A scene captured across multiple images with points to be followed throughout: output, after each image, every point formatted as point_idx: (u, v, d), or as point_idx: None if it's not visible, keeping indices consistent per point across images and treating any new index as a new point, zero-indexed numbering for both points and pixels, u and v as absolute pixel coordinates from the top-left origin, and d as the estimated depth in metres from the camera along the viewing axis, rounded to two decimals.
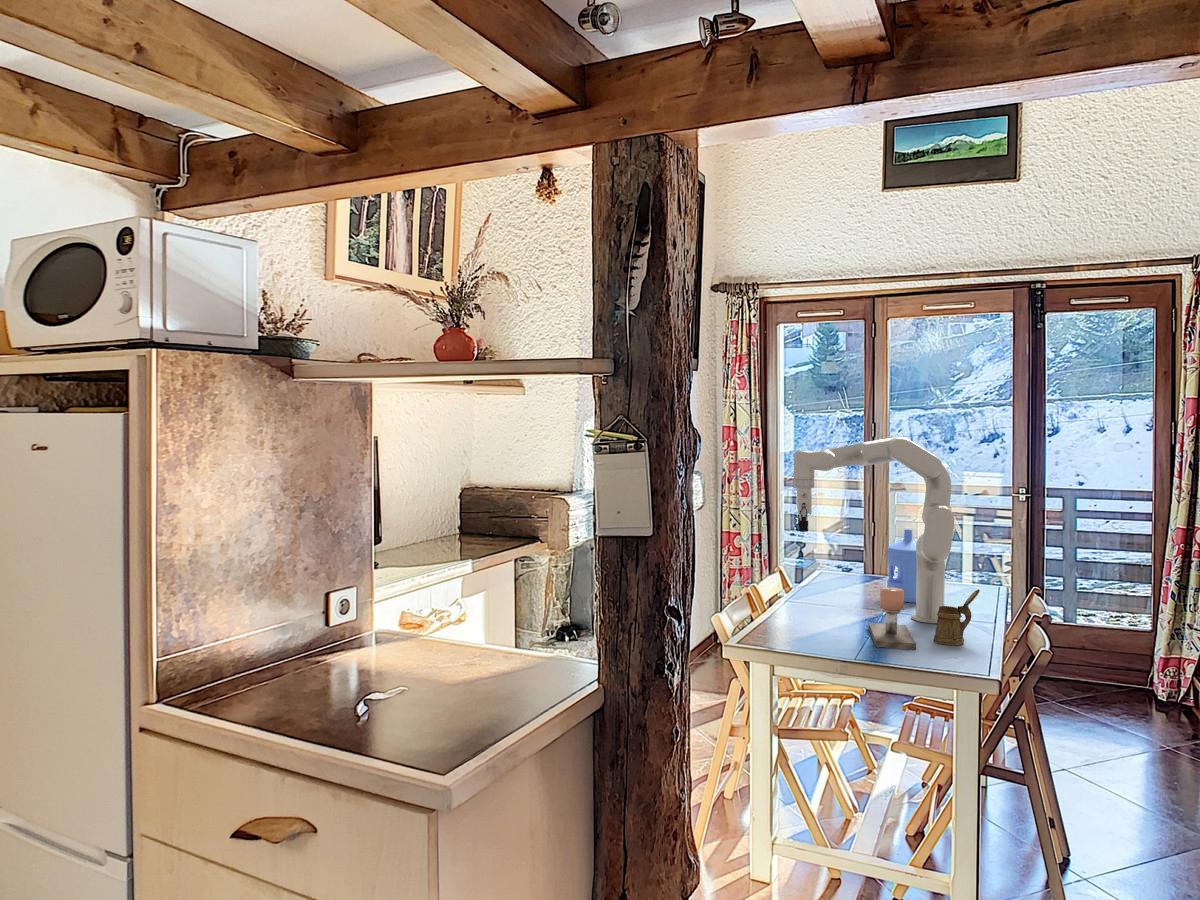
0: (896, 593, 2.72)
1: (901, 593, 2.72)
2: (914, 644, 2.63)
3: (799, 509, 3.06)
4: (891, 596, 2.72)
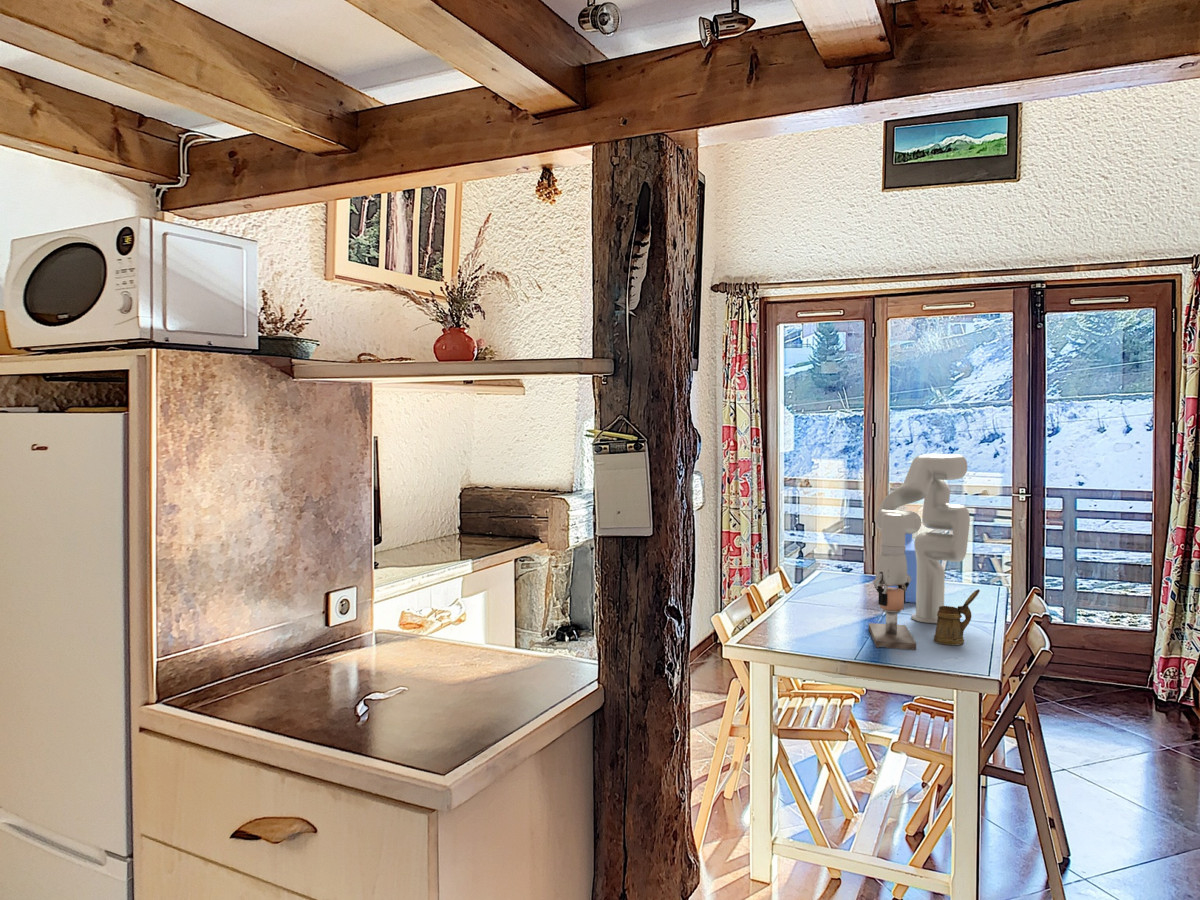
0: (896, 593, 2.72)
1: (901, 593, 2.72)
2: (914, 644, 2.63)
3: None
4: (891, 596, 2.72)
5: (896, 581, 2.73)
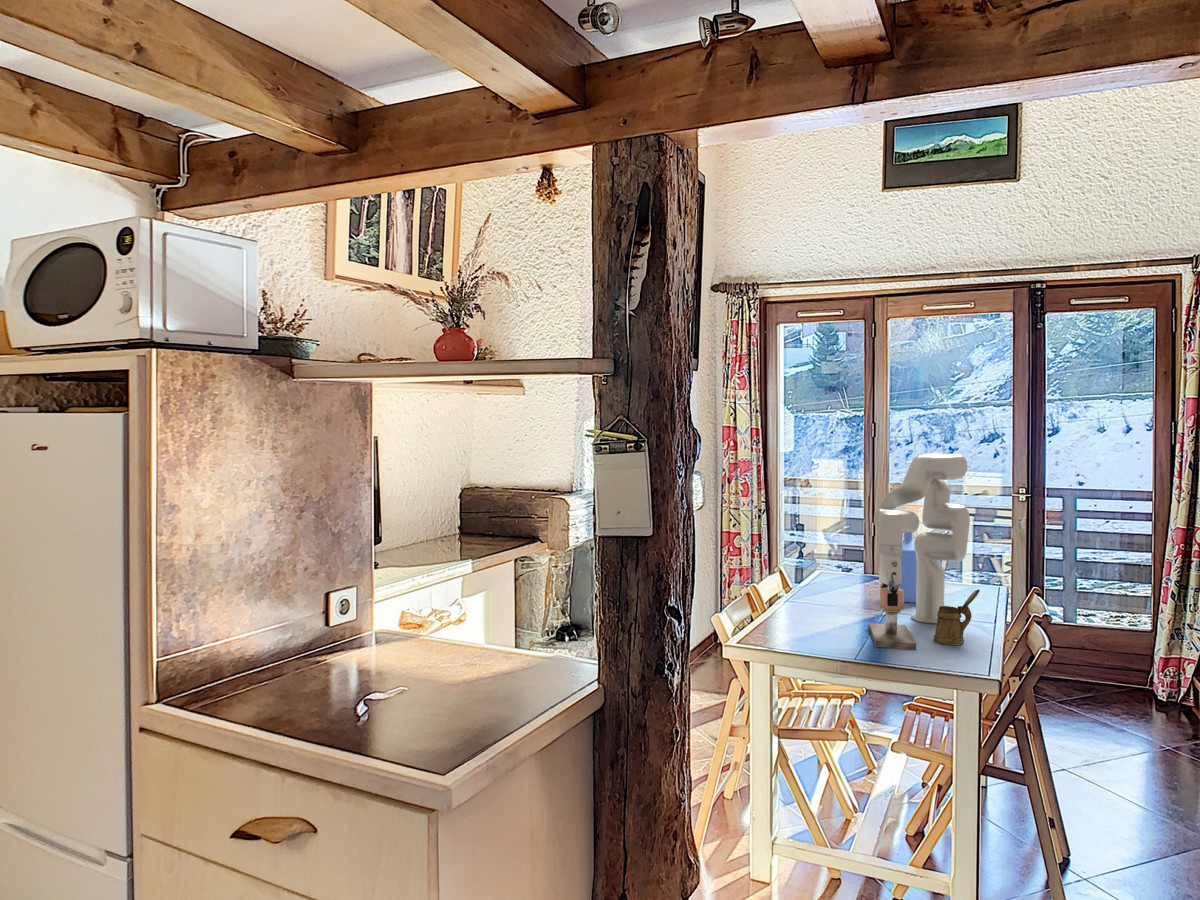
0: None
1: (898, 593, 2.72)
2: (914, 644, 2.63)
3: (888, 581, 2.71)
4: (886, 595, 2.73)
5: (882, 579, 2.76)
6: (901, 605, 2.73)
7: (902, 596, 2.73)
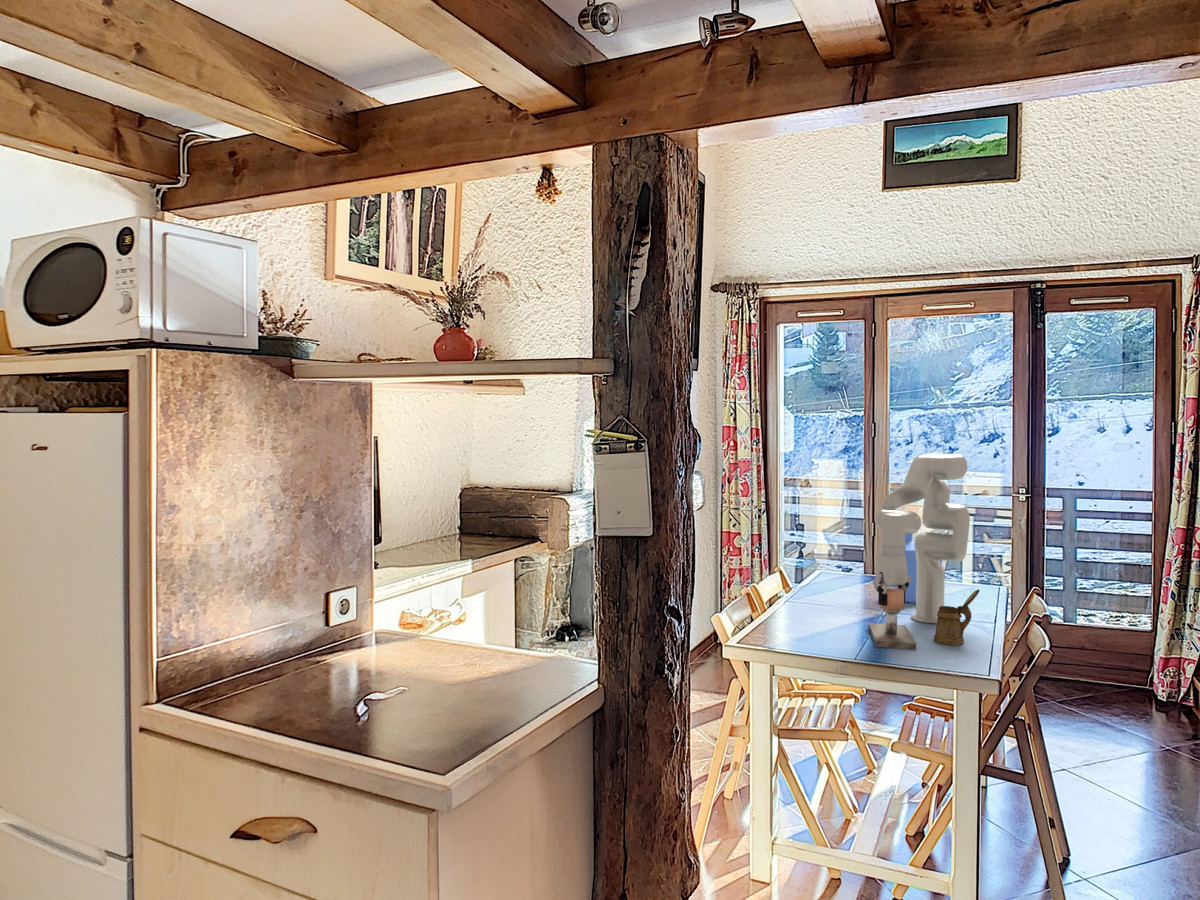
0: (889, 593, 2.72)
1: (895, 593, 2.72)
2: (914, 644, 2.63)
3: None
4: None
5: (896, 581, 2.73)
6: (899, 605, 2.72)
7: (901, 596, 2.72)
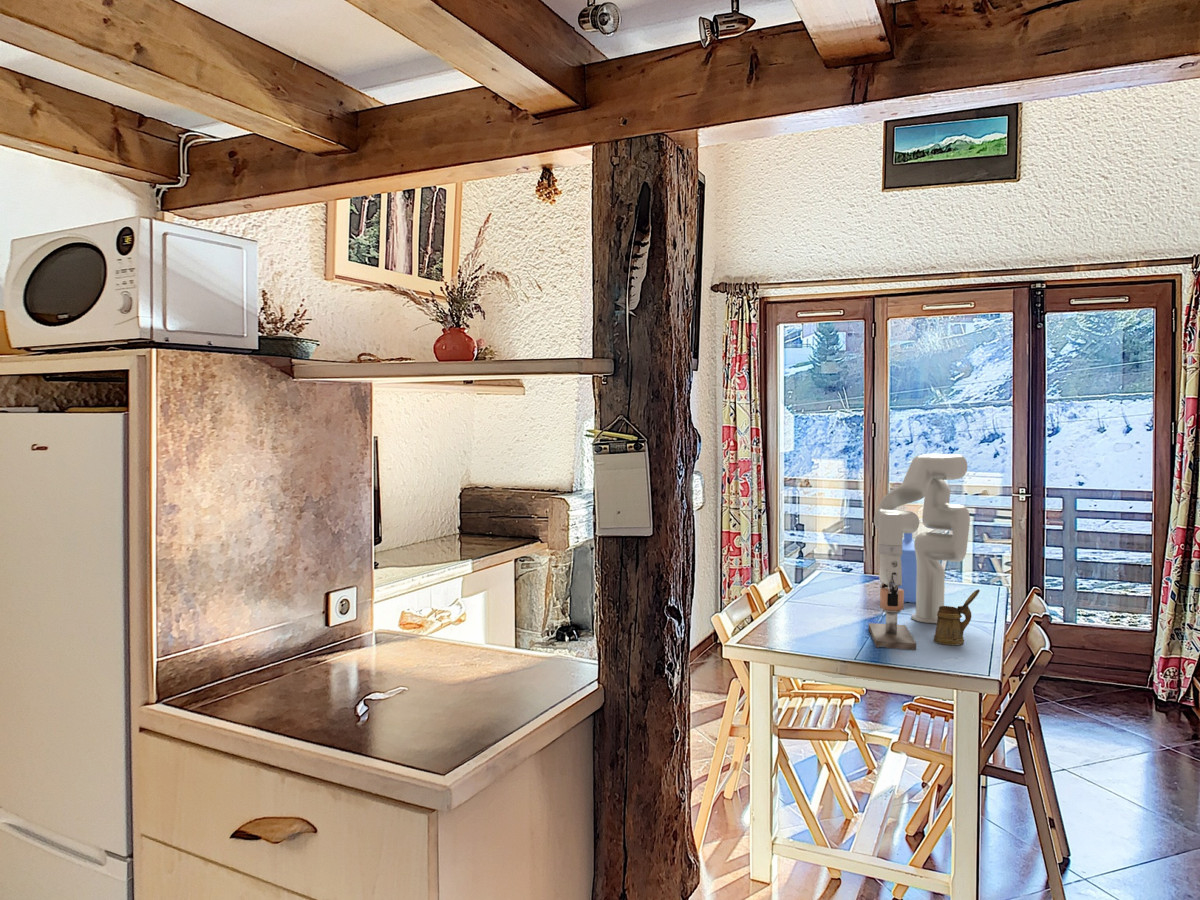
0: (885, 592, 2.73)
1: None
2: (914, 644, 2.63)
3: (888, 581, 2.71)
4: (881, 594, 2.75)
5: (882, 579, 2.76)
6: None
7: None
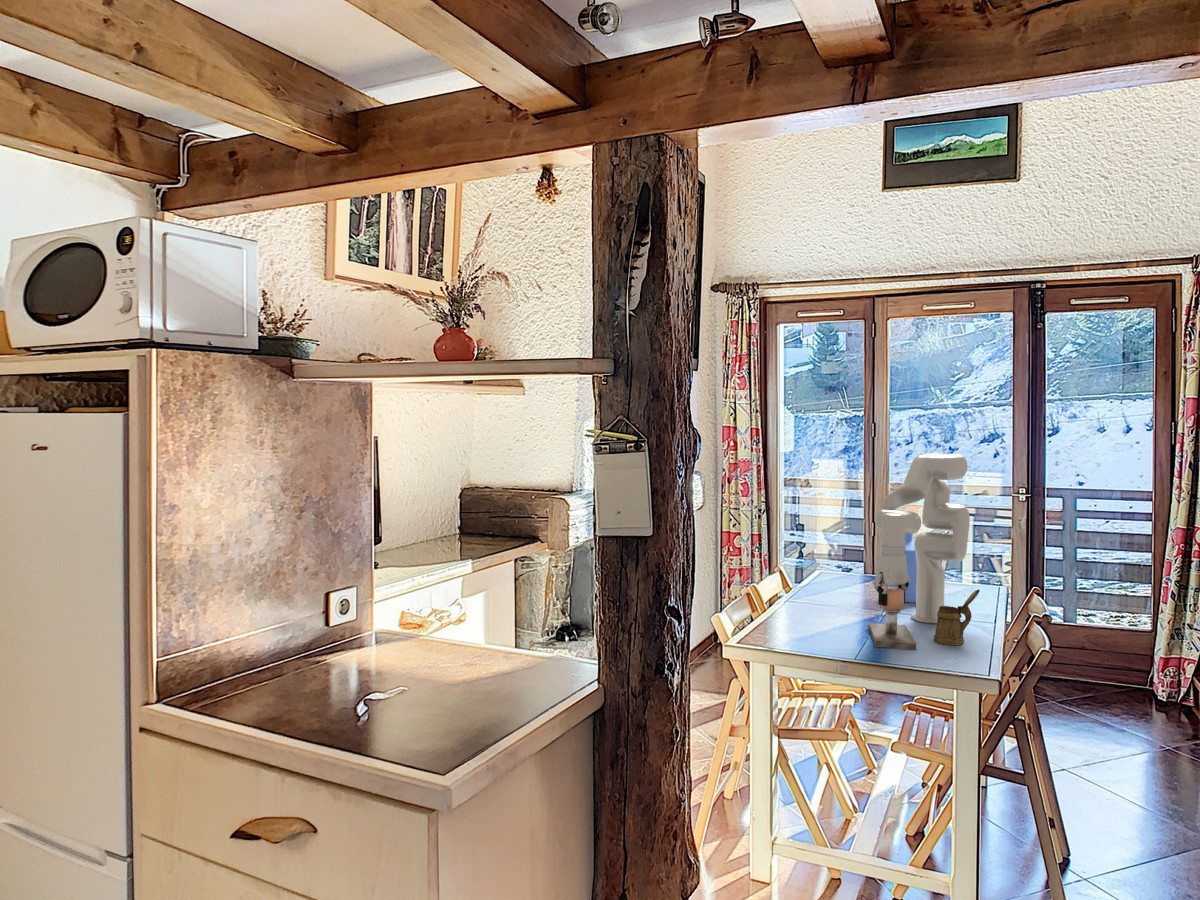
0: None
1: (888, 593, 2.73)
2: (914, 644, 2.63)
3: None
4: None
5: (896, 581, 2.73)
6: (893, 605, 2.72)
7: (895, 597, 2.72)
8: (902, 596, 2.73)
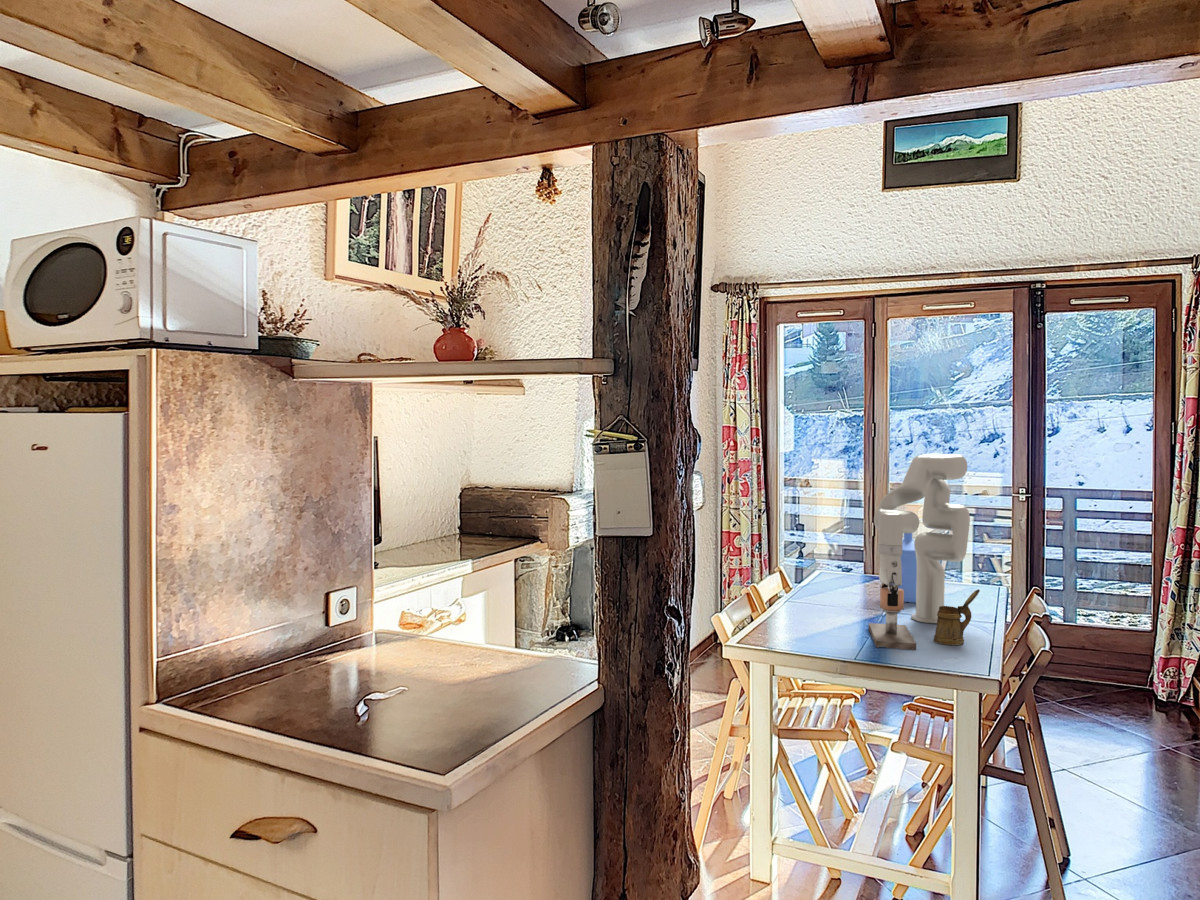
0: (880, 591, 2.75)
1: (884, 592, 2.74)
2: (914, 644, 2.63)
3: (888, 581, 2.71)
4: None
5: (882, 579, 2.76)
6: None
7: None
8: (899, 596, 2.72)
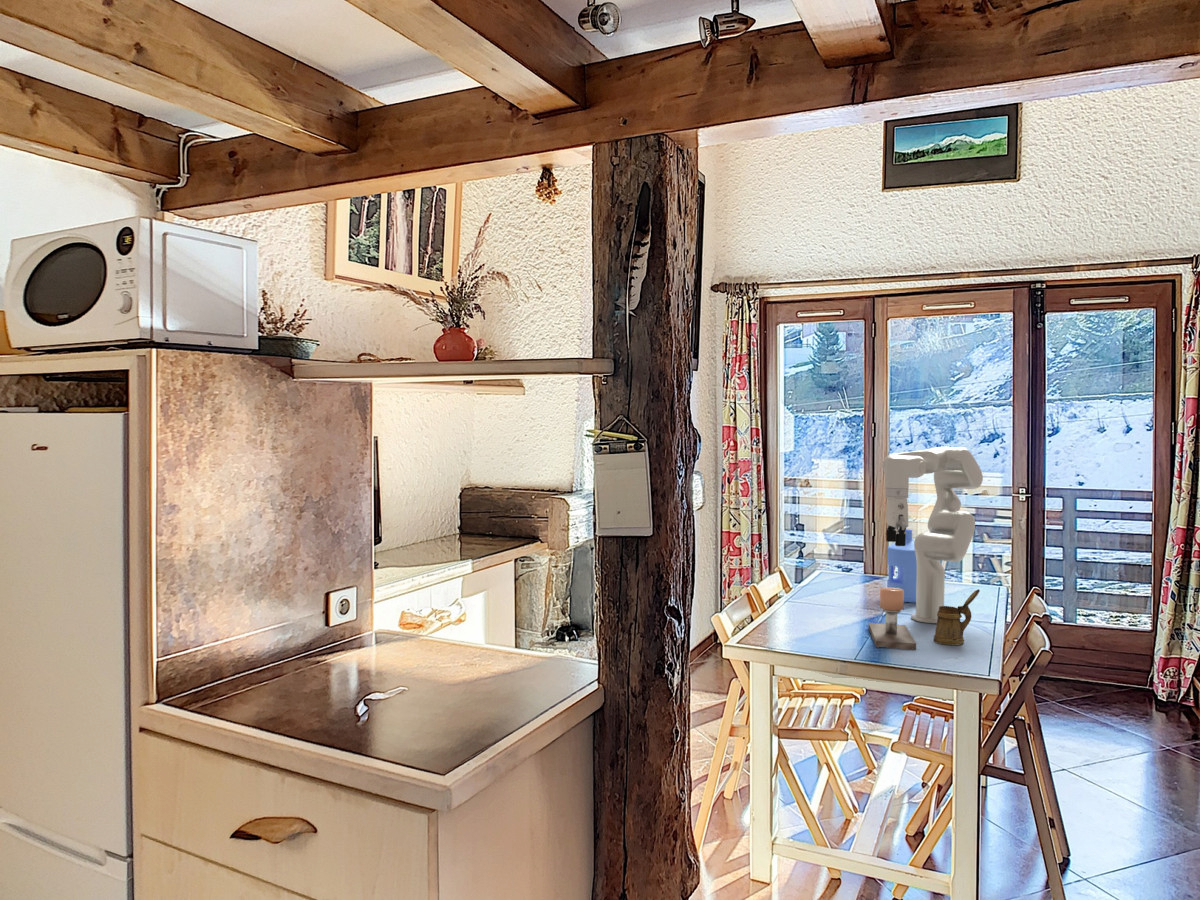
0: None
1: (880, 590, 2.77)
2: (914, 644, 2.63)
3: (895, 521, 2.78)
4: None
5: (889, 521, 2.83)
6: (881, 603, 2.75)
7: (882, 595, 2.75)
8: (890, 596, 2.72)
